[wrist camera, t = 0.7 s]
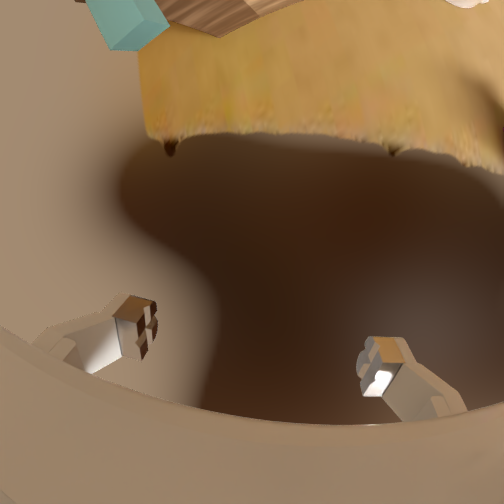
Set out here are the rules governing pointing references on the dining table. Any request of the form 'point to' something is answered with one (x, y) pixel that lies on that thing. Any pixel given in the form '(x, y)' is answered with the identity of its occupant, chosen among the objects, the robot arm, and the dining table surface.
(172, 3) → the step stand
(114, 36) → the teal bar
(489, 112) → the dining table surface
